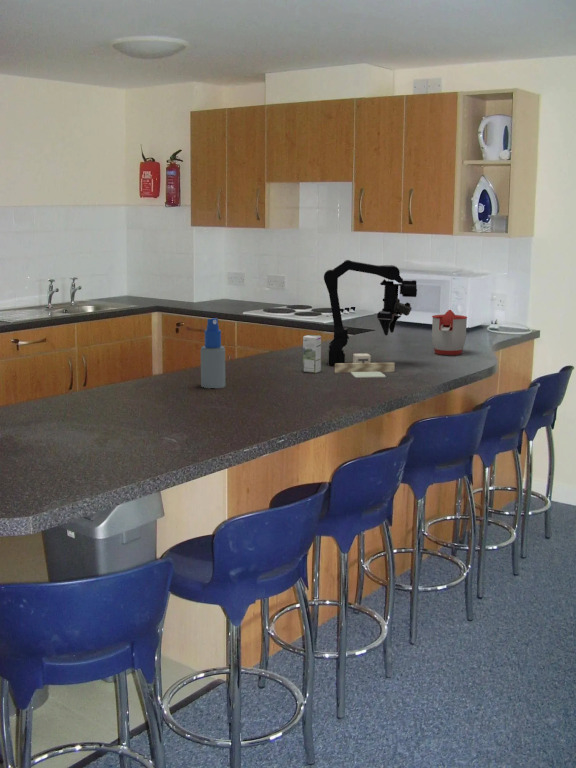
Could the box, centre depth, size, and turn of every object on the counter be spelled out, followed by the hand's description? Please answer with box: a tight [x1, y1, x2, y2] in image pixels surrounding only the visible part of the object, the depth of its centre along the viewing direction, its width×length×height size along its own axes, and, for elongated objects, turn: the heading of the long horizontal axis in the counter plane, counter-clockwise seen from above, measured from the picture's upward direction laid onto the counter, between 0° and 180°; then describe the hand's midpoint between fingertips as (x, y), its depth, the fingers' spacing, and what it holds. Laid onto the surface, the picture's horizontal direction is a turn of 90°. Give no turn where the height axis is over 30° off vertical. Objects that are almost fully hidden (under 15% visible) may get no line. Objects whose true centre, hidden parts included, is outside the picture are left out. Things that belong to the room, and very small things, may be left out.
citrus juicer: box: [431, 309, 468, 357], centre depth 393 cm, size 16×17×20 cm
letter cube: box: [352, 353, 372, 363], centre depth 357 cm, size 6×6×6 cm
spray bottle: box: [200, 317, 226, 389], centre depth 319 cm, size 9×9×25 cm
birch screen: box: [334, 362, 396, 374], centre depth 351 cm, size 24×2×4 cm, turn 96°
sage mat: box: [350, 372, 387, 379], centre depth 344 cm, size 12×10×1 cm
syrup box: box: [302, 334, 322, 374], centre depth 350 cm, size 6×6×14 cm
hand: (389, 333), depth 363 cm, fingers open, 9 cm apart
